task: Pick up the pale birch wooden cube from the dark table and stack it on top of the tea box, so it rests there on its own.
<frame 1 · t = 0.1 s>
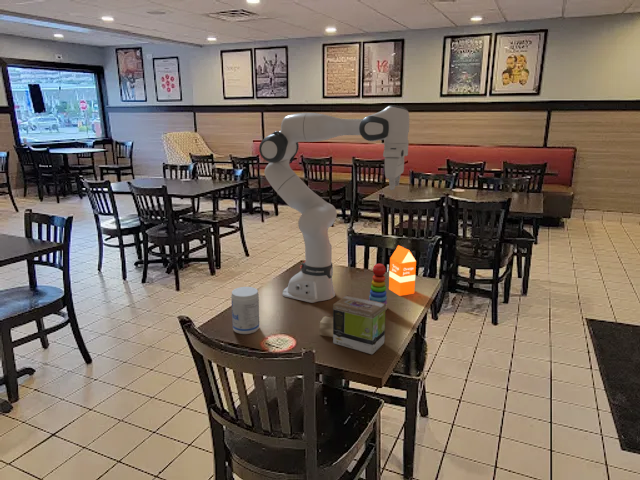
hand: (394, 187, 173), 48 cm above the table, tool pointing down, fingers open, 8 cm apart
stacking toy: (377, 309, 182), on the table
supplement tub: (246, 329, 165), on the table
birch cube: (328, 333, 162), on the table
orange juice: (401, 291, 200), on the table
tea box: (358, 344, 155), on the table
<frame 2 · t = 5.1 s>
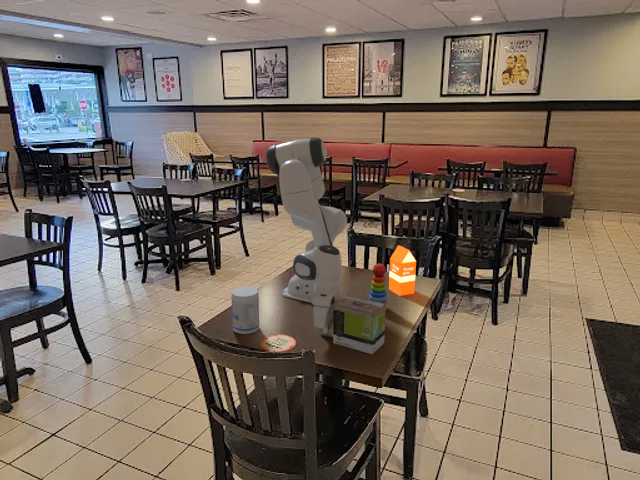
hand: (328, 328, 162), 2 cm above the table, tool pointing down, fingers closed on birch cube, 5 cm apart
birch cube: (328, 332, 162), on the table, touching gripper
everything else where it was.
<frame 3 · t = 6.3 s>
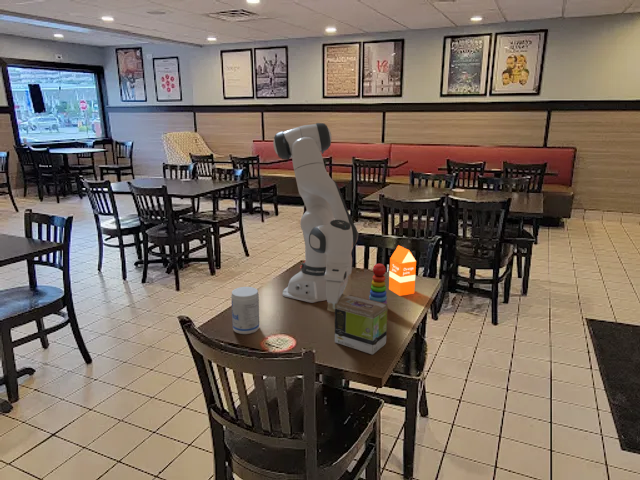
hand: (337, 304, 160), 10 cm above the table, tool pointing down, fingers closed on birch cube, 5 cm apart
birch cube: (336, 309, 161), point 9 cm above the table, tilted 6°, touching gripper
when the fingers open (18 cm above the table, at t = 10.7 s): birch cube drops 2 cm, resting on tea box.
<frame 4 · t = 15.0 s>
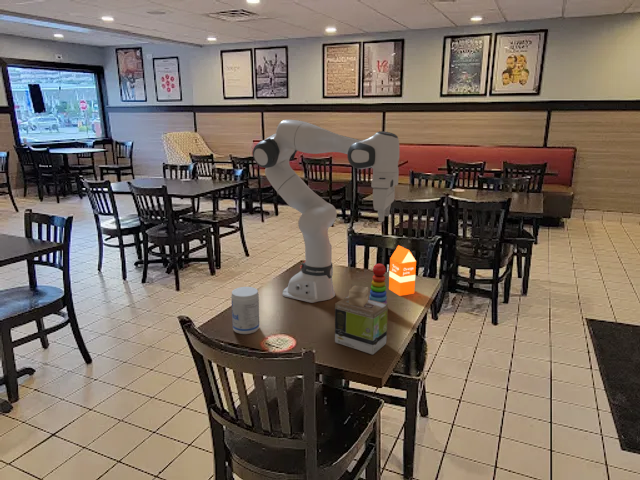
hand: (384, 218, 162), 39 cm above the table, tool pointing down, fingers open, 8 cm apart
birch cube: (358, 302, 151), point 15 cm above the table, touching tea box
tea box: (360, 343, 155), on the table, touching birch cube
everything else where it was.
at the end: birch cube inside the target area on the tea box (1.0 cm from its centre), point 15.0 cm above the tea box's base; birch cube touching tea box; the gripper is holding nothing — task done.
